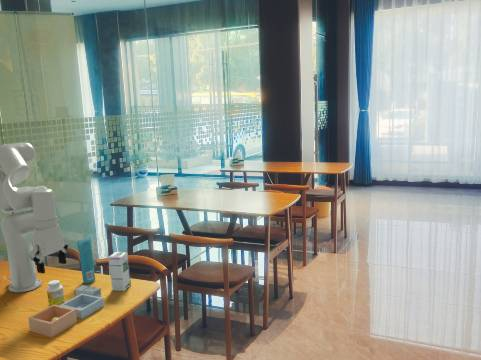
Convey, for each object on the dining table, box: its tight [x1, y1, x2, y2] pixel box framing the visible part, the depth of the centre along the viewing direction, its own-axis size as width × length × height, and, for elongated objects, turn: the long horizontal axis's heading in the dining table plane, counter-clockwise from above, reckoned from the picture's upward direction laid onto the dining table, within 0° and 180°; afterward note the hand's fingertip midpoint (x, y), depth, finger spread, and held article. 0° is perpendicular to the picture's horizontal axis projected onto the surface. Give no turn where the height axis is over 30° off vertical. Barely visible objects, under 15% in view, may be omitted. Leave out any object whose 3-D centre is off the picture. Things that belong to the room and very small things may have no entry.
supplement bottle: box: [46, 279, 66, 307], centre depth 172 cm, size 6×6×10 cm
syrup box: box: [107, 251, 132, 292], centre depth 186 cm, size 6×6×14 cm
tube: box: [76, 235, 96, 284], centre depth 194 cm, size 7×5×19 cm, turn 158°
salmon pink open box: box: [27, 305, 78, 338], centre depth 156 cm, size 11×11×6 cm
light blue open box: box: [60, 294, 105, 320], centre depth 168 cm, size 11×11×4 cm
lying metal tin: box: [74, 284, 102, 298], centre depth 179 cm, size 9×4×4 cm, turn 66°
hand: (52, 268), depth 169 cm, fingers open, 9 cm apart
